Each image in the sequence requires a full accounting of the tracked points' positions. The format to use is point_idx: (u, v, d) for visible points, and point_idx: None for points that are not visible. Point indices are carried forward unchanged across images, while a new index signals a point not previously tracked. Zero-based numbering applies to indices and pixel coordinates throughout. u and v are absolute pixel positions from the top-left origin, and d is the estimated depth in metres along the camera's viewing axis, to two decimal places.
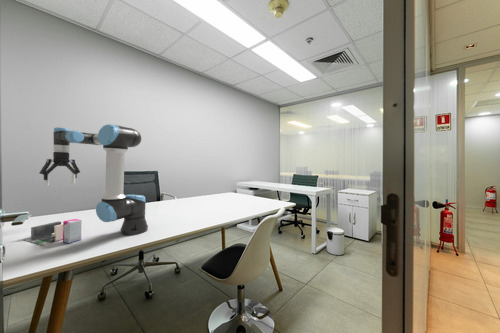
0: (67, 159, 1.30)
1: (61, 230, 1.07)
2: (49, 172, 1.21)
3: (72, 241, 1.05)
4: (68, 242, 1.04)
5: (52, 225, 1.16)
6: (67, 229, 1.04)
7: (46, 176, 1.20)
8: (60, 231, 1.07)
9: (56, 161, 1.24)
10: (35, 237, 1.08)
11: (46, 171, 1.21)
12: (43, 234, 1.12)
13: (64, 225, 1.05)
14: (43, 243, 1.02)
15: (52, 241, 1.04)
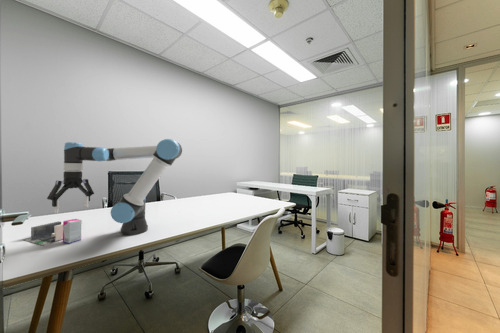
0: (80, 179, 1.08)
1: (61, 230, 1.07)
2: None
3: (72, 241, 1.05)
4: (68, 242, 1.04)
5: (52, 225, 1.16)
6: (67, 229, 1.04)
7: (55, 202, 0.99)
8: (60, 231, 1.07)
9: (67, 183, 1.03)
10: (35, 237, 1.08)
11: (55, 196, 1.00)
12: (43, 234, 1.12)
13: (64, 225, 1.05)
14: (43, 243, 1.02)
15: (52, 241, 1.04)
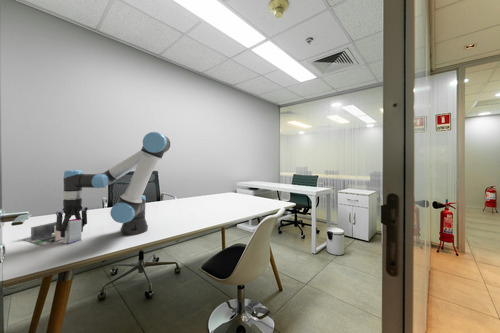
0: (80, 206, 1.09)
1: None
2: (66, 227, 1.03)
3: (72, 241, 1.05)
4: (68, 242, 1.04)
5: (52, 225, 1.16)
6: (67, 229, 1.04)
7: (63, 233, 1.03)
8: None
9: (67, 211, 1.04)
10: (35, 237, 1.08)
11: (62, 227, 1.03)
12: (43, 234, 1.12)
13: None
14: (43, 243, 1.02)
15: (52, 241, 1.04)
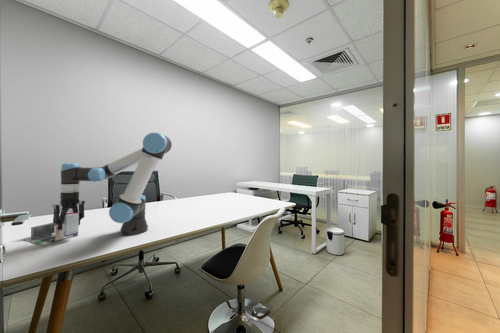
0: (77, 199, 1.10)
1: None
2: (63, 220, 1.04)
3: (69, 234, 1.05)
4: (65, 235, 1.04)
5: (52, 225, 1.16)
6: (64, 222, 1.04)
7: (61, 225, 1.03)
8: None
9: (64, 204, 1.04)
10: (35, 237, 1.08)
11: (59, 219, 1.03)
12: (43, 234, 1.12)
13: None
14: (43, 243, 1.02)
15: (52, 241, 1.04)
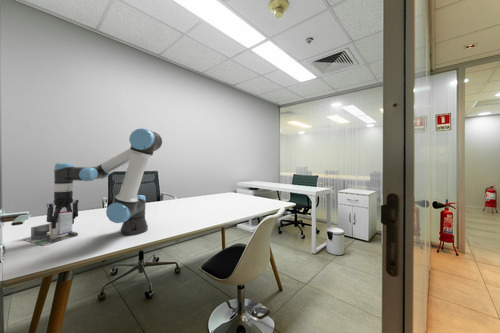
0: (71, 198, 1.12)
1: None
2: (56, 218, 1.06)
3: (63, 232, 1.07)
4: (59, 233, 1.06)
5: None
6: (58, 221, 1.06)
7: (54, 224, 1.05)
8: None
9: (58, 203, 1.06)
10: (35, 237, 1.08)
11: (53, 218, 1.05)
12: (43, 234, 1.12)
13: None
14: (43, 243, 1.02)
15: (52, 241, 1.04)
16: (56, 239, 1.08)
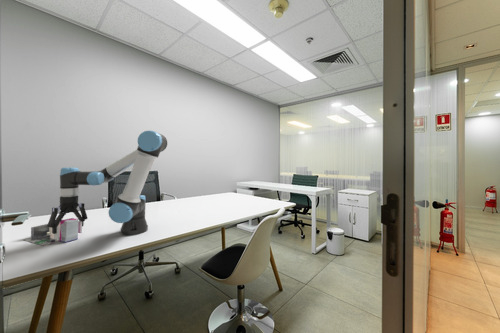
0: (76, 203, 1.10)
1: None
2: (58, 223, 1.02)
3: (69, 240, 1.06)
4: (65, 241, 1.05)
5: None
6: (64, 228, 1.05)
7: (55, 229, 1.02)
8: None
9: (63, 208, 1.04)
10: (35, 237, 1.08)
11: (54, 223, 1.02)
12: (43, 234, 1.12)
13: (61, 224, 1.06)
14: (43, 243, 1.02)
15: (52, 241, 1.04)
16: None
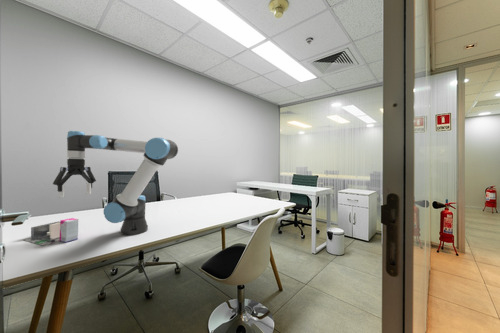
0: (82, 167, 1.14)
1: (56, 229, 1.09)
2: (64, 182, 1.05)
3: (69, 240, 1.06)
4: (65, 241, 1.05)
5: None
6: (64, 228, 1.05)
7: (60, 187, 1.04)
8: (55, 230, 1.08)
9: (71, 169, 1.09)
10: (35, 237, 1.08)
11: (60, 181, 1.05)
12: (43, 234, 1.12)
13: (61, 224, 1.06)
14: (43, 243, 1.02)
15: (52, 241, 1.04)
16: (56, 239, 1.08)
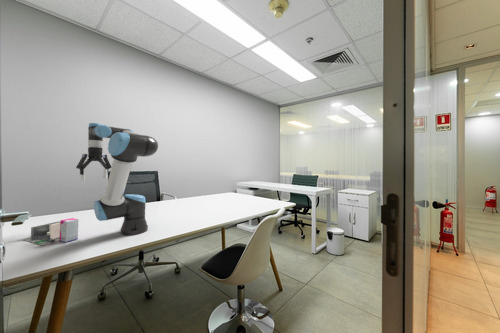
0: (100, 154, 1.32)
1: (56, 229, 1.09)
2: (85, 167, 1.23)
3: (69, 240, 1.06)
4: (65, 241, 1.05)
5: None
6: (64, 228, 1.05)
7: (82, 171, 1.22)
8: (55, 230, 1.08)
9: (91, 156, 1.26)
10: (35, 237, 1.08)
11: (82, 166, 1.23)
12: (43, 234, 1.12)
13: (61, 224, 1.06)
14: (43, 243, 1.02)
15: (52, 241, 1.04)
16: (56, 239, 1.08)
